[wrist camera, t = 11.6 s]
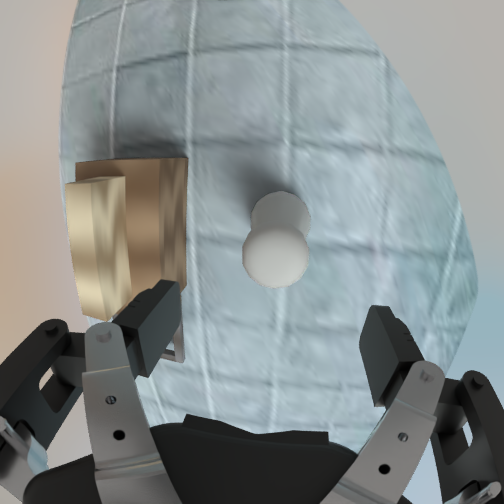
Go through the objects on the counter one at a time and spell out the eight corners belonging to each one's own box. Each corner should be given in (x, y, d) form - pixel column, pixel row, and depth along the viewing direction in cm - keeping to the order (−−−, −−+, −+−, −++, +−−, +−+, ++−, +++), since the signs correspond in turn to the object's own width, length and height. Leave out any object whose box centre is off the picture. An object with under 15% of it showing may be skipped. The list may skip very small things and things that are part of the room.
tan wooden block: (103, 159, 27) (40, 167, 17) (181, 158, 26) (128, 161, 16) (122, 342, 35) (87, 386, 26) (185, 358, 34) (158, 412, 25)
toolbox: (113, 158, 29) (81, 162, 23) (188, 157, 28) (164, 159, 22) (118, 273, 34) (93, 293, 28) (186, 285, 33) (167, 310, 27)
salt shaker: (269, 178, 27) (252, 195, 15) (318, 204, 28) (341, 241, 15) (244, 228, 29) (212, 279, 17) (292, 252, 30) (292, 317, 18)
